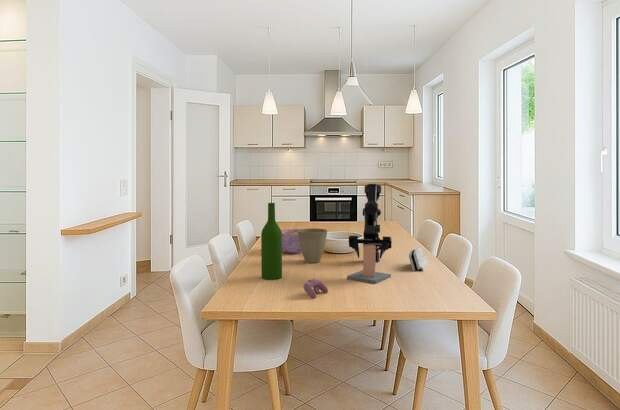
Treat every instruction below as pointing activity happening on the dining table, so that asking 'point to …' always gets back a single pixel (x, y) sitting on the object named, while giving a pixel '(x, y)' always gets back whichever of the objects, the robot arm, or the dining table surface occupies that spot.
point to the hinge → (418, 259)
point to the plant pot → (312, 243)
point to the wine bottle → (271, 247)
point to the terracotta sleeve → (369, 260)
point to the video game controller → (316, 284)
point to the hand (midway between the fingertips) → (369, 257)
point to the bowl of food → (290, 241)
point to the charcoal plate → (376, 279)
